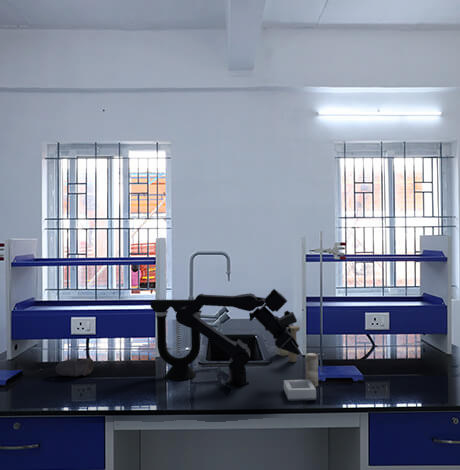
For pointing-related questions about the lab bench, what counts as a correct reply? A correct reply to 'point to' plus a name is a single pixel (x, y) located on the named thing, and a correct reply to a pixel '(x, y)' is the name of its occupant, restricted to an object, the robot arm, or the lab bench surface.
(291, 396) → the socket block
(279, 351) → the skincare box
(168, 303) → the spring support
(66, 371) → the perforated stone tool
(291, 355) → the handle
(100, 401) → the lab bench surface
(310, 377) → the peg
